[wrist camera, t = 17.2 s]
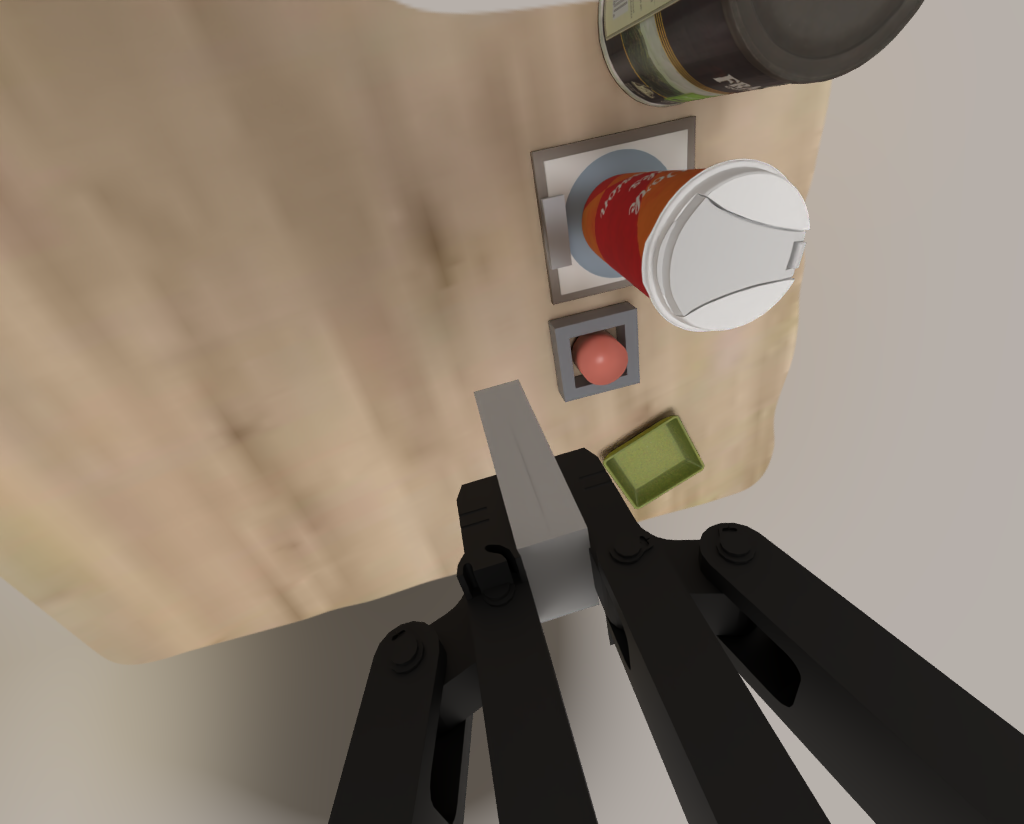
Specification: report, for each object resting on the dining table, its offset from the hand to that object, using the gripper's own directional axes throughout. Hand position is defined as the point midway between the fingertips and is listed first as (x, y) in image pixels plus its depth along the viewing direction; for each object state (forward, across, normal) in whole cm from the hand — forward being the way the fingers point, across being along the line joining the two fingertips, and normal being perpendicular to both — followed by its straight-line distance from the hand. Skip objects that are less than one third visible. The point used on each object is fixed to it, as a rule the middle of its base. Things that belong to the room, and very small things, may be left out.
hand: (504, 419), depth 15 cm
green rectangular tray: (+23, +15, -25) cm, 37 cm away
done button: (+22, +10, -11) cm, 26 cm away
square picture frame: (+23, +14, 0) cm, 27 cm away
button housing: (+22, +10, -11) cm, 27 cm away
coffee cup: (+22, +13, 0) cm, 26 cm away
